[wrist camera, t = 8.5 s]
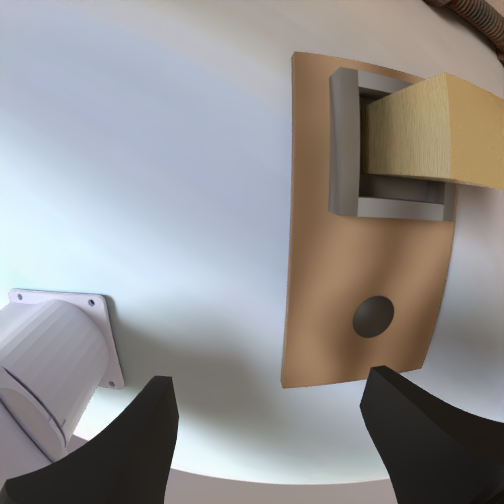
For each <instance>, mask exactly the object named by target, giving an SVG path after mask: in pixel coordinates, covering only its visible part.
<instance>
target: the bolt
mask: <svg viewBox="0 0 504 504" xmlns="http://www.w3.org/2000/svg"><path fill="white" fill-rule="evenodd" d="M425 1H426V2H428V3H430V4H431V5H434V6H443V5H446V6H447V7H448V8H450V9H451V10H453V11H454V12H456V13H457V14H459V15H460V16H462V17H463V18H464V19H465V20H467V21H468V22H469V23H471V24H472V25H473V26H474V27H476V28H477V29H478V30H479V31H481V32H482V33H483V34H484V35H486V36H487V37H488V38H489V39H490V40H491V41H492V43H494V44H495V45H496V46H497V58H498V59H499V60H500V61H501V62H502V63H503V64H504V17H503V16H502V15H500V14H499V13H498V12H497V11H496V10H495V9H494V8H493V7H492V6H491V5H489V4H488V3H487V2H486V1H485V0H425Z"/></svg>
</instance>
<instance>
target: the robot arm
mask: <svg viewBox="0 0 504 504" xmlns="http://www.w3.org/2000/svg"><path fill="white" fill-rule="evenodd" d="M8 295H9V299H10V303H9V304H8V305H6V306H5V307H4V308H2V309H1V310H0V504H164V496H165V490H166V484H167V480H168V475H169V471H170V467H171V462H172V458H173V454H174V449H175V445H176V440H177V432H178V421H179V414H178V409H177V404H176V399H175V394H174V388H173V383H172V377H166V376H154V377H153V378H152V379H151V380H150V381H149V382H148V384H147V385H146V386H145V387H144V388H143V390H142V391H141V392H140V393H139V394H138V395H137V396H136V398H135V399H134V400H133V401H132V402H131V403H130V404H129V405H128V406H127V407H126V408H125V409H124V410H123V412H122V413H121V414H120V415H119V416H118V417H116V418H115V419H114V420H113V421H112V422H111V423H110V424H109V425H108V426H107V427H106V428H105V429H104V430H102V431H101V432H100V433H99V434H98V435H96V436H95V437H94V438H93V439H91V440H90V441H89V442H87V443H86V444H85V445H83V446H82V447H80V448H78V449H77V450H76V451H74V452H72V453H70V454H69V455H68V454H67V452H66V450H65V448H66V446H67V444H68V442H69V440H70V438H71V436H72V434H73V432H74V430H75V428H76V426H77V424H78V422H79V420H80V418H81V416H82V414H83V412H84V411H85V409H86V407H87V405H88V403H89V401H90V399H91V397H92V396H93V394H94V392H95V390H96V388H97V386H101V387H107V388H114V389H122V388H123V387H124V385H125V383H124V379H123V376H122V372H121V368H120V364H119V361H118V357H117V352H116V348H115V344H114V340H113V335H112V330H111V326H110V321H109V316H108V310H107V305H106V300H105V298H104V297H103V296H101V295H96V294H77V293H61V292H47V291H34V290H22V289H11V290H10V291H9V293H8ZM21 295H22V297H21ZM91 300H93V301H94V303H95V304H92V303H91ZM112 382H113V383H112ZM360 409H361V412H362V416H363V419H364V422H365V425H366V428H367V430H368V432H369V434H370V436H371V438H372V440H373V442H374V444H375V446H376V448H377V450H378V452H379V454H380V456H381V458H382V461H383V463H384V465H385V467H386V469H387V471H388V474H389V476H390V479H391V482H392V485H393V488H394V491H395V495H396V499H397V502H398V504H504V423H502V422H497V421H493V420H489V419H486V418H482V417H479V416H476V415H473V414H471V413H468V412H466V411H463V410H461V409H459V408H456V407H454V406H452V405H450V404H448V403H446V402H444V401H442V400H441V399H439V398H437V397H435V396H433V395H432V394H430V393H428V392H427V391H425V390H423V389H422V388H420V387H419V386H417V385H415V384H414V383H412V382H411V381H409V380H408V379H406V378H405V377H403V376H402V375H400V374H398V373H397V372H395V371H394V370H392V369H391V368H389V367H387V366H385V365H382V366H376V367H371V368H370V372H369V376H368V379H367V383H366V386H365V390H364V393H363V396H362V400H361V403H360Z"/></svg>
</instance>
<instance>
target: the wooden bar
mask: <svg viewBox="0 0 504 504" xmlns="http://www.w3.org/2000/svg"><path fill="white" fill-rule="evenodd" d="M361 110H362V173H365V174H376V175H385V176H394V177H403V178H410V179H419V180H430V181H440V182H449V183H458V184H466V185H473V186H481V187H488V188H494V189H500V190H504V100H503V99H501V98H499V97H498V96H496V95H494V94H492V93H490V92H488V91H486V90H484V89H482V88H480V87H478V86H476V85H474V84H471V83H469V82H467V81H465V80H462V79H460V78H458V77H455V76H453V75H451V74H448V73H446V72H444V73H442V74H439V75H436V76H434V77H431V78H429V79H426V80H424V81H421V82H419V83H416V84H414V85H411V86H409V87H407V88H404V89H402V90H400V91H397V92H395V93H393V94H390V95H388V96H386V97H384V98H381V99H379V100H377V101H375V102H372V103H370V104H368V105H366V106H364V107H362V108H361Z"/></svg>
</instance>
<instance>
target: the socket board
mask: <svg viewBox="0 0 504 504" xmlns="http://www.w3.org/2000/svg"><path fill="white" fill-rule="evenodd" d="M424 80H426V79H423V78H420V77H417V76H414V75H411V74H407V73H404V72H400V71H397V70H393V69H389V68H386V67H382V66H377V65H373V64H369V63H364V62H360V61H355V60H349V59H344V58H338V57H332V56H326V55H319V54H312V53H303V52H294V54H293V56H292V175H291V213H290V240H289V263H288V282H287V300H286V316H285V331H284V345H283V358H282V370H281V384H282V388H296V387H308V386H318V385H327V384H336V383H343V382H351V381H357V380H364V379H368V376H369V372H370V368H371V367H376V366H382V365H385V366H387V367H389V368H391V369H392V370H394V371H395V372H397V373H402V372H407V371H412V370H416V369H420V368H422V365H423V362H424V359H425V356H426V353H427V350H428V347H429V344H430V341H431V337H432V334H433V330H434V327H435V323H436V319H437V316H438V312H439V308H440V304H441V299H442V295H443V290H444V286H445V281H446V276H447V270H448V265H449V259H450V253H451V246H452V239H453V231H454V223H455V213H456V201H457V185H458V183H449V182H440V181H430V180H419V179H410V178H403V177H394V176H385V175H376V174H365V173H362V110H361V108H362V107H364V106H366V105H368V104H370V103H372V102H375V101H377V100H379V99H381V98H384V97H386V96H388V95H390V94H393V93H395V92H397V91H400V90H402V89H404V88H407V87H409V86H411V85H414V84H416V83H419V82H421V81H424Z"/></svg>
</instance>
